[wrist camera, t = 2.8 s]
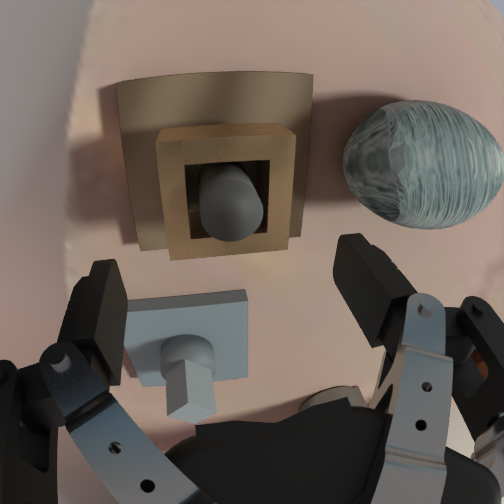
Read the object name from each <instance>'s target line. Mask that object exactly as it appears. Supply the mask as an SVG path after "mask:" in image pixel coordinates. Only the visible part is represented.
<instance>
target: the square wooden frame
mask: <svg viewBox="0 0 504 504" xmlns="http://www.w3.org/2000/svg"><path fill="white" fill-rule="evenodd" d="M155 144H156V154H157V164H158V173H159V182H160V190H161V198H162V206H163V214H164V221H165V228H166V235H167V241H168V248H169V254H170V260H171V261H172V260H183V259H194V258H204V257H215V256H225V255H236V254H246V253H257V252H267V251H278V250H288V239H289V227H290V215H291V203H292V190H293V176H294V161H295V146H296V135H295V134H294V133H292V132H291V131H290V130H288V129H287V128H286V127H284V126H283V125H282V124H280V123H236V124H215V125H200V126H187V127H176V128H166V129H161V130H160V133H159V135H158V138H157V140H156V142H155ZM252 160H257V194H258V196H259V199H260V201H261V203H262V206H263V218H262V221H261V224H260V225H259V227H258V228H257V230H256V231H255V232H254V233H253V234H251V235H250V236H248V237H247V238H245V239H242V240H239V241H234V242H225V241H220V240H217V239H215V238H213V237H212V236H211V235H209V234H208V233H207V232H206V230H205V229H204V227H203V225H202V222H201V215H200V212H193V213H190V210H189V199H188V187H187V174H186V165H191V164H203V163H217V162H232V161H252Z"/></svg>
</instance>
